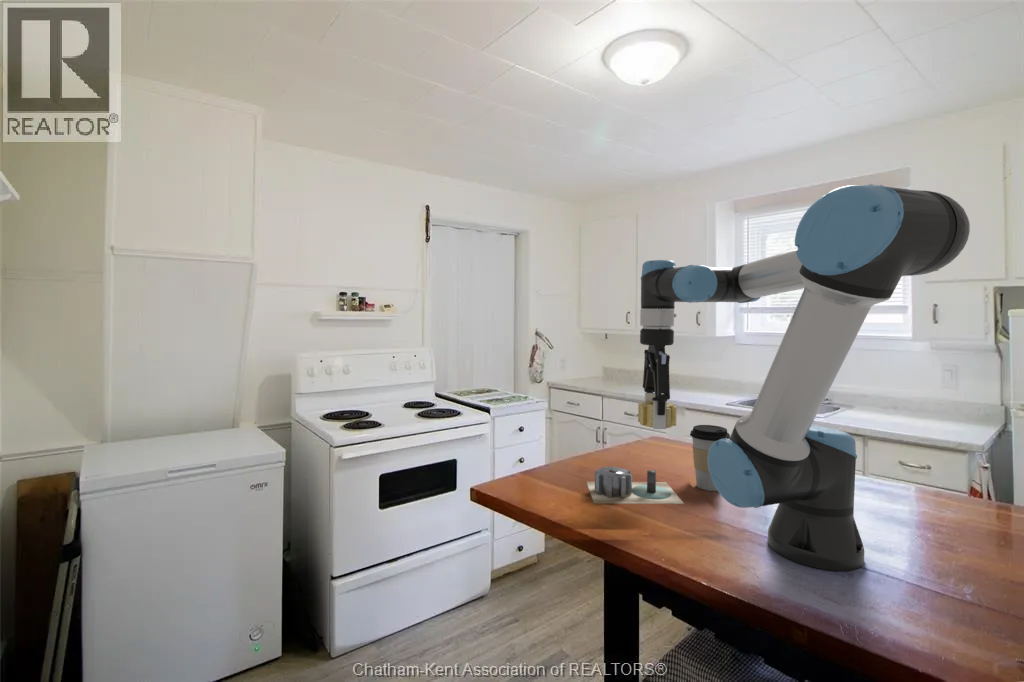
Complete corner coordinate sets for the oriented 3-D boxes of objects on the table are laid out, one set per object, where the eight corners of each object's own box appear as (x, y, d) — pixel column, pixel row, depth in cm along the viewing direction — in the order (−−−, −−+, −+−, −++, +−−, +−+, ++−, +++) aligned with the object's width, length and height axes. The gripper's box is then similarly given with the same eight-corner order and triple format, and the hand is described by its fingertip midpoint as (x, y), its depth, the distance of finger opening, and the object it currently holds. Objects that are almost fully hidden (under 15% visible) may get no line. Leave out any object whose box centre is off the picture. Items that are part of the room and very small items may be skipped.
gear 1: (634, 498, 112) (635, 477, 112) (598, 498, 112) (598, 476, 112) (627, 485, 120) (627, 465, 120) (593, 485, 121) (593, 465, 120)
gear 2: (680, 429, 111) (680, 407, 111) (642, 429, 111) (643, 407, 111) (670, 420, 119) (670, 400, 119) (635, 419, 120) (635, 399, 119)
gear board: (684, 510, 109) (684, 480, 109) (594, 509, 110) (594, 480, 109) (666, 488, 123) (666, 461, 123) (586, 487, 123) (586, 461, 123)
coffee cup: (723, 496, 117) (725, 434, 116) (683, 488, 123) (684, 429, 122) (733, 485, 125) (734, 427, 124) (695, 478, 130) (696, 422, 129)
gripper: (687, 330, 103) (684, 436, 105) (661, 325, 124) (659, 414, 126) (651, 330, 103) (648, 435, 105) (631, 325, 124) (629, 413, 126)
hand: (654, 423), depth 115 cm, fingers closed on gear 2, 8 cm apart
